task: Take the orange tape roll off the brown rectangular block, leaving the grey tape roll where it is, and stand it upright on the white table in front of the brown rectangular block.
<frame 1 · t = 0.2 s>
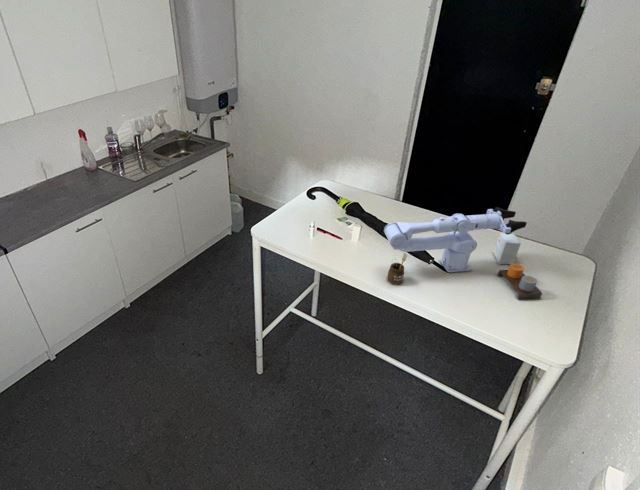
hand: (519, 219, 155), 21 cm above the table, tool horizontal, fingers open, 7 cm apart
small box: (502, 259, 170), on the table
utensil holder: (395, 280, 162), on the table
grey tape: (526, 287, 151), point 3 cm above the table, touching brown rectangular block
brown rectangular block: (517, 286, 155), on the table
orange tape: (514, 274, 157), point 3 cm above the table, touching brown rectangular block
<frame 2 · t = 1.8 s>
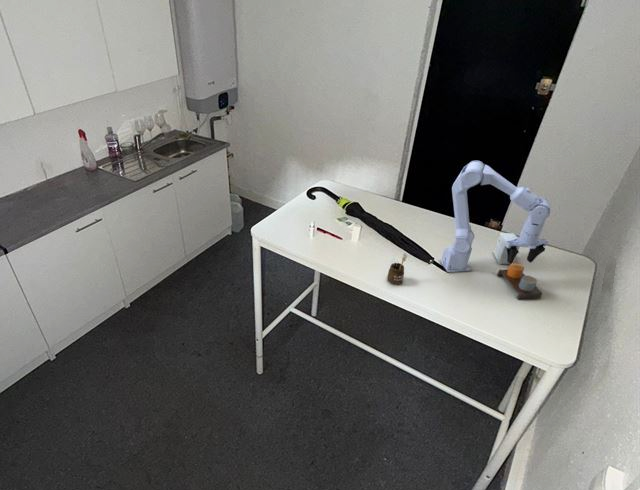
hand: (519, 261, 154), 9 cm above the table, tool pointing down, fingers open, 7 cm apart
nothing on the table moved.
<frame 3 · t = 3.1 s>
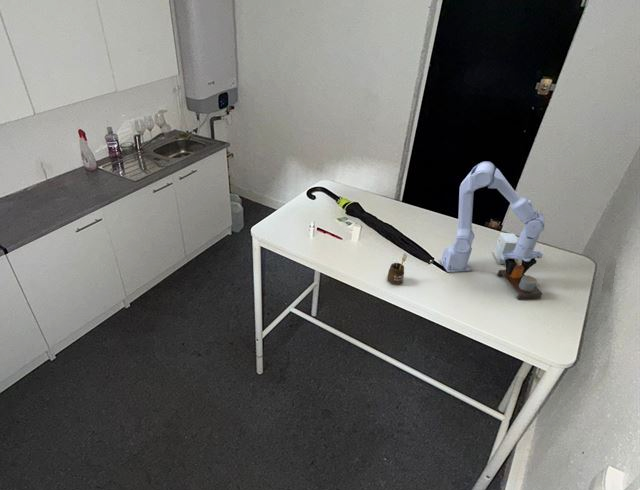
hand: (514, 273, 157), 3 cm above the table, tool pointing down, fingers closed on orange tape, 5 cm apart
orange tape: (514, 274, 157), point 3 cm above the table, touching gripper, brown rectangular block
everything else where it was.
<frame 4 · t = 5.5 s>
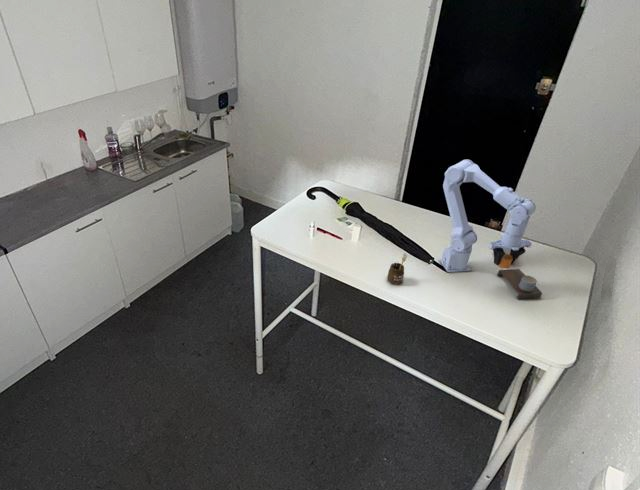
hand: (502, 263, 152), 10 cm above the table, tool pointing down, fingers closed on orange tape, 5 cm apart
orange tape: (502, 264, 152), point 9 cm above the table, touching gripper
everything else where it was.
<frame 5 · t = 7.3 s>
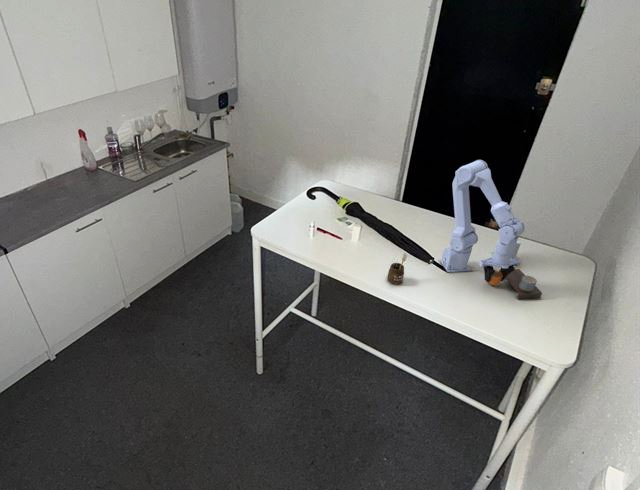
hand: (493, 280, 156), 2 cm above the table, tool pointing down, fingers closed on orange tape, 5 cm apart
orange tape: (493, 281, 156), point 1 cm above the table, touching gripper
everything else where it was.
when the fingers open (1 cm above the table, at t = 8.2 s): orange tape stays where it is, on the table.
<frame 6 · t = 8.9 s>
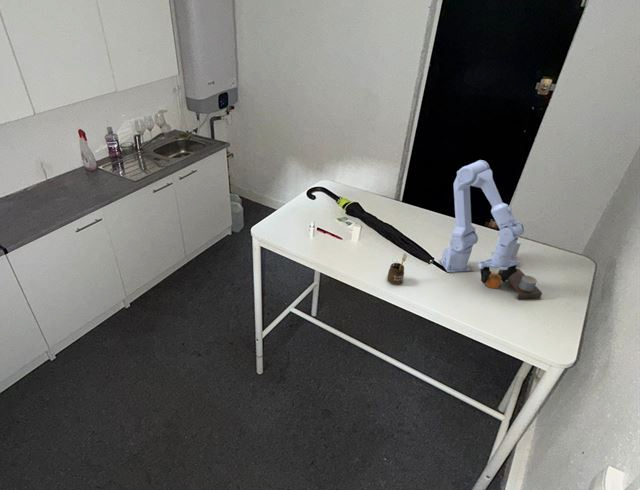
hand: (492, 281, 156), 1 cm above the table, tool pointing down, fingers open, 7 cm apart
orange tape: (492, 284, 157), on the table
everything else where it was.
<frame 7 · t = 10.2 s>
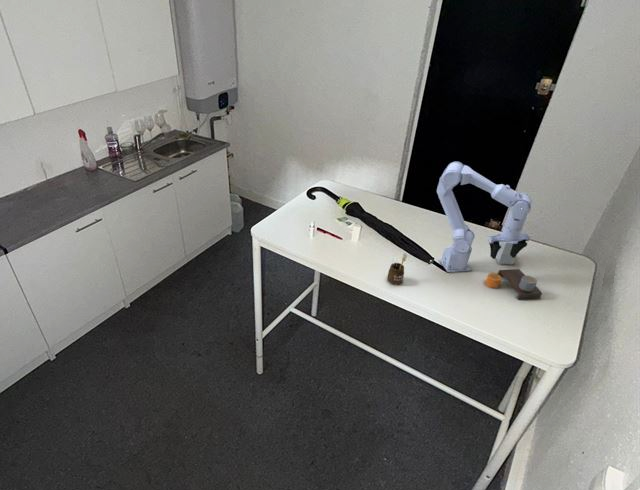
hand: (502, 256, 156), 9 cm above the table, tool pointing down, fingers open, 7 cm apart
nothing on the table moved.
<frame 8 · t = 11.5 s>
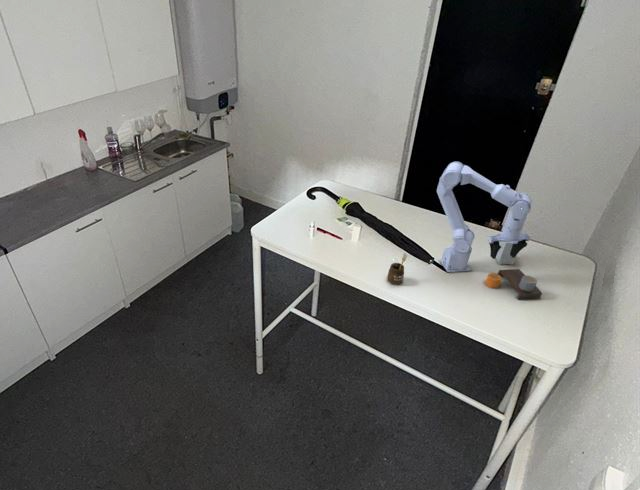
hand: (502, 256, 156), 9 cm above the table, tool pointing down, fingers open, 7 cm apart
nothing on the table moved.
at the end: orange tape inside the target area (0.1 cm from its centre), on the table; orange tape tilted 0°; grey tape moved 0.0 cm from its start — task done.
